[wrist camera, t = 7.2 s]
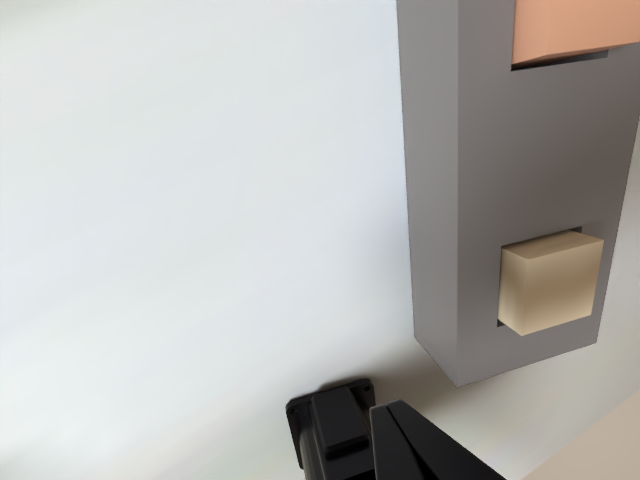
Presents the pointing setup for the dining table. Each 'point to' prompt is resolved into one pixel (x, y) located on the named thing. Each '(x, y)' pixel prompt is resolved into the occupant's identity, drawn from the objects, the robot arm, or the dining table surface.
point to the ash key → (548, 280)
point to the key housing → (503, 173)
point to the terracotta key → (571, 29)
